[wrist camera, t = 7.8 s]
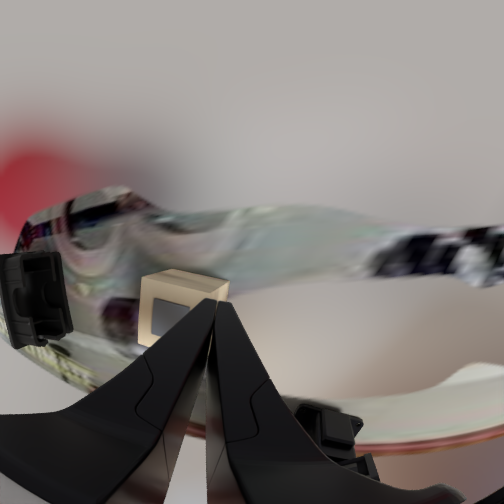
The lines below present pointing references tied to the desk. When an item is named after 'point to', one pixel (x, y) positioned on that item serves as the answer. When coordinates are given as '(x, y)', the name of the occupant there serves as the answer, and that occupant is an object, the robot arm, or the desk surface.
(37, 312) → the end cap
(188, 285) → the beech block
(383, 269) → the desk surface
